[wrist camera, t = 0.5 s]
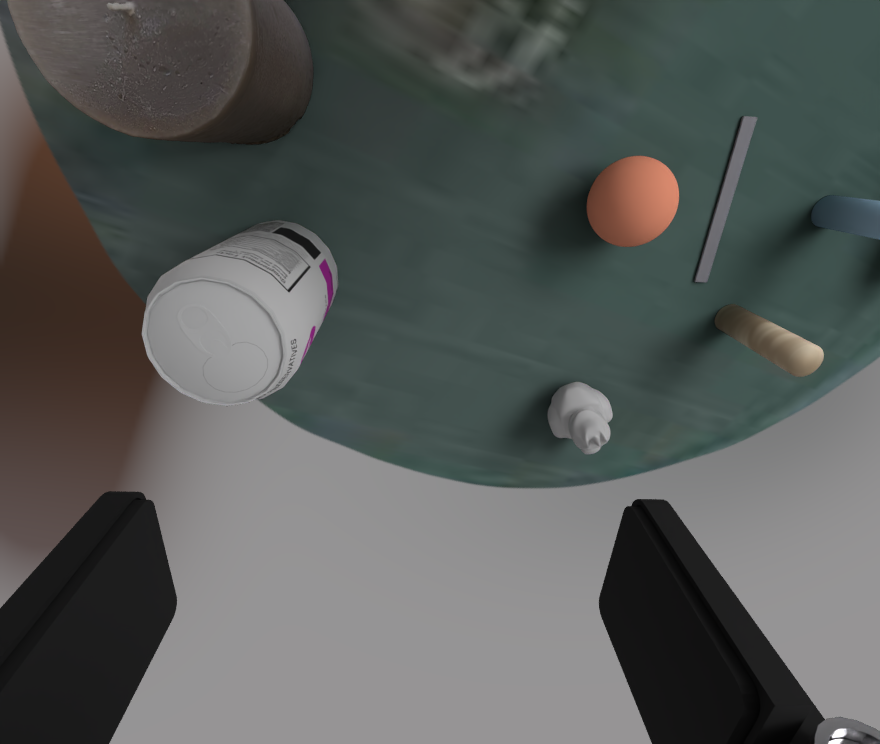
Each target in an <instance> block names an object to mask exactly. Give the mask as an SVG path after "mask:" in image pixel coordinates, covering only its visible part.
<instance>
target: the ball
mask: <svg viewBox="0 0 880 744" xmlns="http://www.w3.org/2000/svg"><path fill="white" fill-rule="evenodd" d="M678 202H679V189H678V184H677V181H676V179H675V177H674V175H673V174H672V172H671V171H670V169H669V168H668V167H667V166H666V165H664V164H663V163H661V162H660V161H658V160H656V159H653V158H650V157H645V156H632V157H626V158H623V159H620V160H618V161H616V162H614V163H612V164H611V165H609V166H608V167H607V168H605V169H604V170H603V171H602V172H601V173H600V174H599V176H598V177H597V178H596V180H595V181H594V183H593V185H592V187H591V189H590V192H589V195H588V199H587V215H588V219H589V222H590V224H591V226H592V228H593V230H594V231H595V232H596V233H597V235H598V236H600V237H601V238H602V239H603V240H605V241H606V242H608V243H611V244H613V245H617V246H622V247H632V246H638V245H642V244H644V243H647V242H649V241H651V240H653V239H655V238H656V237H657V236H659V235H660V234H661V233H662V232H663V231H664V230H665V229H666V228H667V227H668V226H669V224H670V223H671V221H672V219H673V218H674V216H675V213H676V211H677V207H678Z"/></svg>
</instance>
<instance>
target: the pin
mask: <svg viewBox="0 0 880 744" xmlns="http://www.w3.org/2000/svg"><path fill="white" fill-rule="evenodd" d="M811 220H812V222H813V224H814V225H815V226H817V227H822V228H826V229H831V230H836V231H841V232H845V233H850V234H855V235H860V236H864V237H869V238H874V239H879V240H880V201H876V200H868V199H860V198H852V197H844V196H836V195H829V196H826V197H824V198H822V199H820V200H819V201H818V202H817V203H816V204H815V206H814V208H813V210H812V213H811Z"/></svg>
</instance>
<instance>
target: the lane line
mask: <svg viewBox="0 0 880 744" xmlns="http://www.w3.org/2000/svg"><path fill="white" fill-rule="evenodd" d="M756 120H757V117H747V116H742V119H741V123H740V126H739V129H738V133H737V136H736V140H735V143H734V146H733V150H732V153H731V157H730V160H729V163H728V167H727V170H726V174H725V177H724V181H723V184H722V187H721V191H720V194H719V198H718V201H717V204H716V208H715V211H714V215H713V218H712V221H711V225H710V228H709V232H708V235H707V238H706V242H705V245H704V249H703V252H702V255H701V259H700V262H699V266H698V269H697V272H696V276H695V279H694V281H695V282H707V281H708V277H709V274H710V271H711V267H712V264H713V261H714V258H715V254H716V251H717V248H718V245H719V241H720V238H721V235H722V231H723V228H724V225H725V222H726V218H727V215H728V212H729V209H730V205H731V202H732V199H733V195H734V192H735V189H736V186H737V182H738V179H739V176H740V173H741V169H742V166H743V163H744V160H745V156H746V153H747V150H748V146H749V143H750V140H751V137H752V133H753V130H754V127H755V124H756Z"/></svg>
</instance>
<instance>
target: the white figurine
mask: <svg viewBox="0 0 880 744" xmlns="http://www.w3.org/2000/svg"><path fill="white" fill-rule="evenodd" d="M551 401H552V403H551V405H550V407H549V409H548V414H547V417H548V421H549V425H550V427H551V430H552V433H553V434H554V435H555V436H556V437H558V438H570V439H573V441H574V443H575V444H576V446H577V447H578V448H580V449H581V450H582V451H583V453H585V454H593V453H596V452H597V451H599V449H600V447H601V446H602V445H604V444H605V443H607V442H608V440H609V438H610V428H609V425H608V424H607V423H608V422H609V421H610V420H611V419H612V416H613V414H612V409H611V406H610V403H609V401H608V399H607V398H606V397H605V396H604V395H603V394H602V393H601V392H599V391H598V390H596V389H593V388H591V387H590V386H588V385H587V384H584V383H581V382H573V383H570V384H567V385H564V386H562V387H561V388H559V389H558V390H557V391H556V393H555V394H554V395H553V397H552V400H551Z"/></svg>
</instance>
